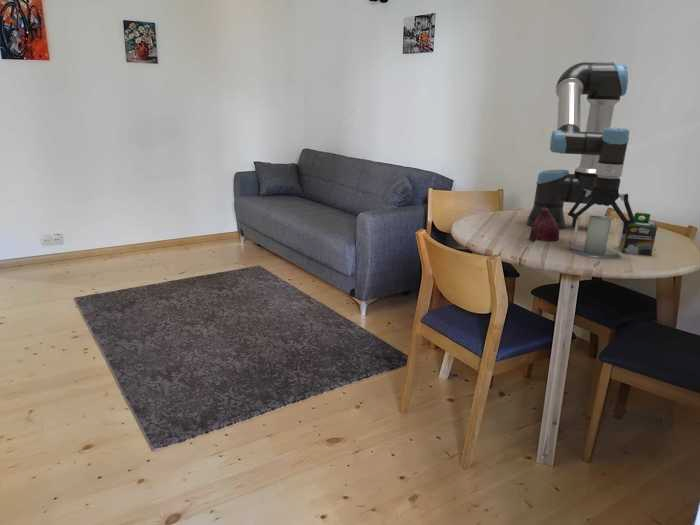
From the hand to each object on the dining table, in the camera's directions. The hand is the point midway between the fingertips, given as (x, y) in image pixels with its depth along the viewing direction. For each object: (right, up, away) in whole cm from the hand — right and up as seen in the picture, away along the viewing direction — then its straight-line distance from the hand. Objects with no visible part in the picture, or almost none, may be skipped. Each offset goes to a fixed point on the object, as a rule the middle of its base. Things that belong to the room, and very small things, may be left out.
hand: (596, 240), depth 174 cm
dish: (0, -5, +2) cm, 5 cm away
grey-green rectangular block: (0, -4, +1) cm, 4 cm away
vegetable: (-11, 0, +19) cm, 22 cm away
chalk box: (+16, -5, +6) cm, 17 cm away
